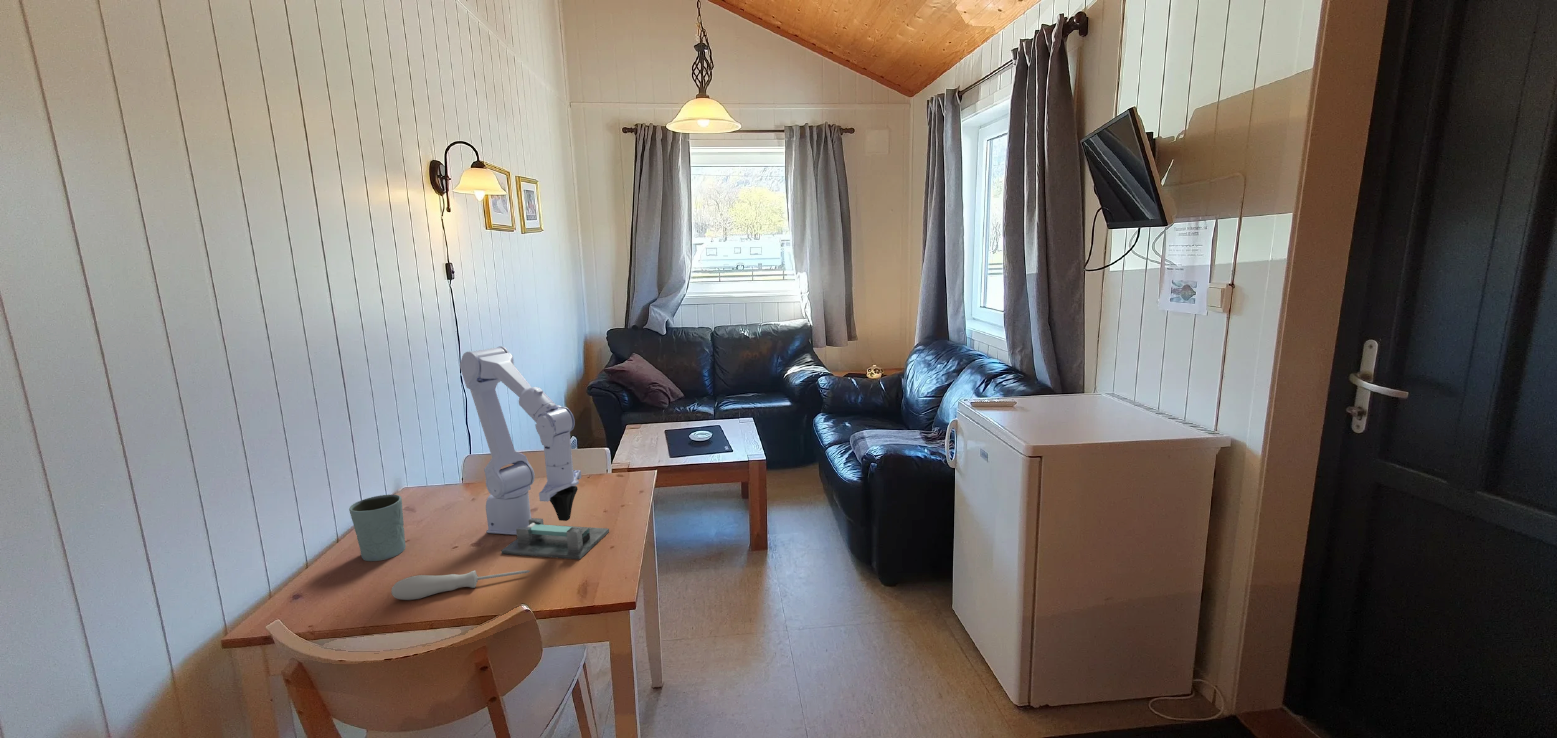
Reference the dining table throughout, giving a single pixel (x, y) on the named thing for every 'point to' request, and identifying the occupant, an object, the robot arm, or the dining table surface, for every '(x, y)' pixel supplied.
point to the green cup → (379, 526)
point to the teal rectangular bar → (553, 530)
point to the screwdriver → (438, 584)
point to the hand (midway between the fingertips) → (564, 519)
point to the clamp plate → (554, 542)
